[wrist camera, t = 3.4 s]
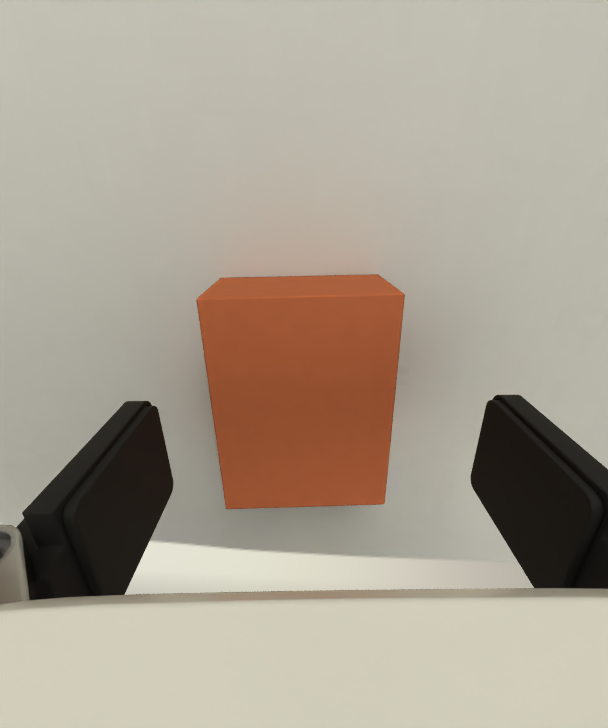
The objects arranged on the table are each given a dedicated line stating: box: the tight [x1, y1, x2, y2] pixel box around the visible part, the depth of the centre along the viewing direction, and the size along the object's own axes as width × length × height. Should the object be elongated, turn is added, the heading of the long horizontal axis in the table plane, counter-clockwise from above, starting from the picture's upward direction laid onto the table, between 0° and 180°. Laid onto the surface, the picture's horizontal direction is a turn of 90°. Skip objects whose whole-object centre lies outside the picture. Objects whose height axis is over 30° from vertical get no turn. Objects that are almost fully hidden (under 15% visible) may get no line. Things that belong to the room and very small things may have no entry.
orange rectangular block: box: [197, 275, 405, 509], centre depth 13 cm, size 6×8×4 cm
